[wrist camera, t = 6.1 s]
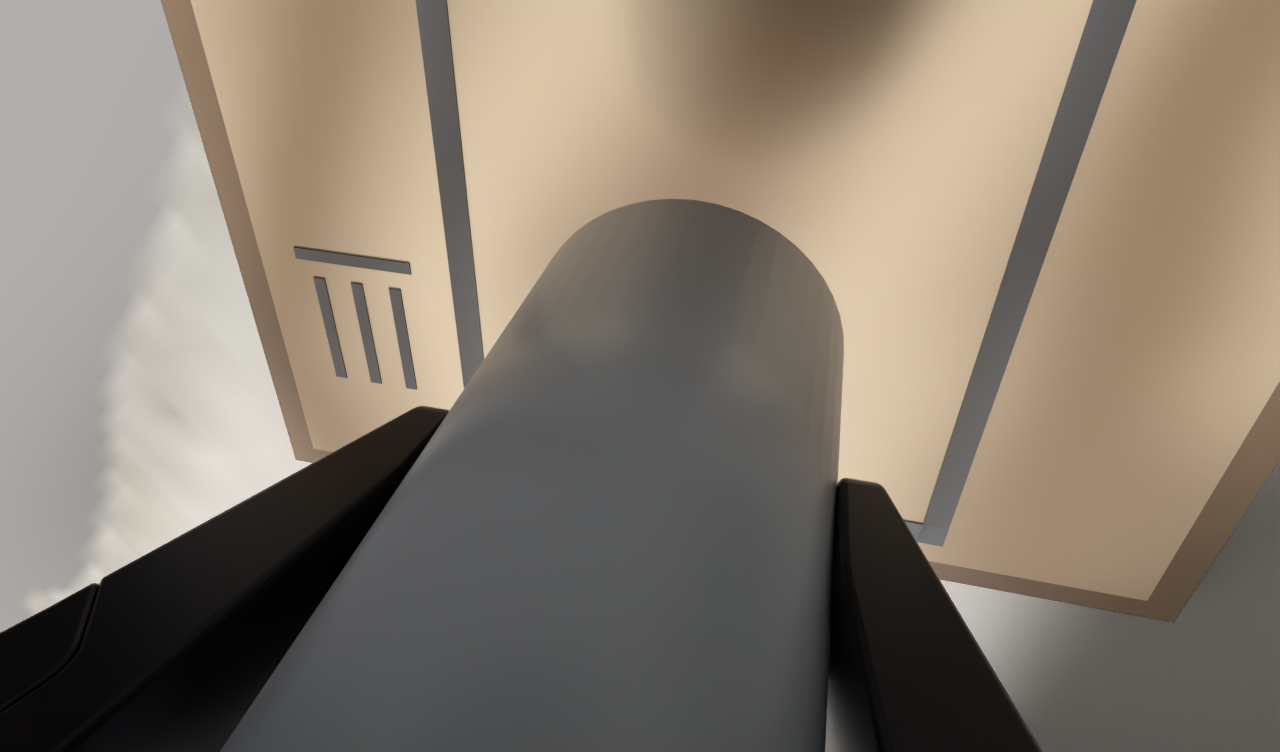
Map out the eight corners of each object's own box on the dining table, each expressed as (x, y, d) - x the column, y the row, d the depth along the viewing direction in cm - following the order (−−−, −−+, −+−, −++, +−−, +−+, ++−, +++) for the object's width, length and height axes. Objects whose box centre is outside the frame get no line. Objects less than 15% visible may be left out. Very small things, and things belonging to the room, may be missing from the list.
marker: (878, 217, 9) (909, 1844, 2) (820, 488, 11) (735, 1650, 4) (523, 175, 10) (-445, 1261, 3) (538, 440, 12) (62, 1376, 5)
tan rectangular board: (1826, -486, 8) (2030, -545, 7) (1162, 592, 18) (1188, 664, 16) (70, -457, 11) (-46, -492, 10) (313, 438, 21) (272, 487, 19)
